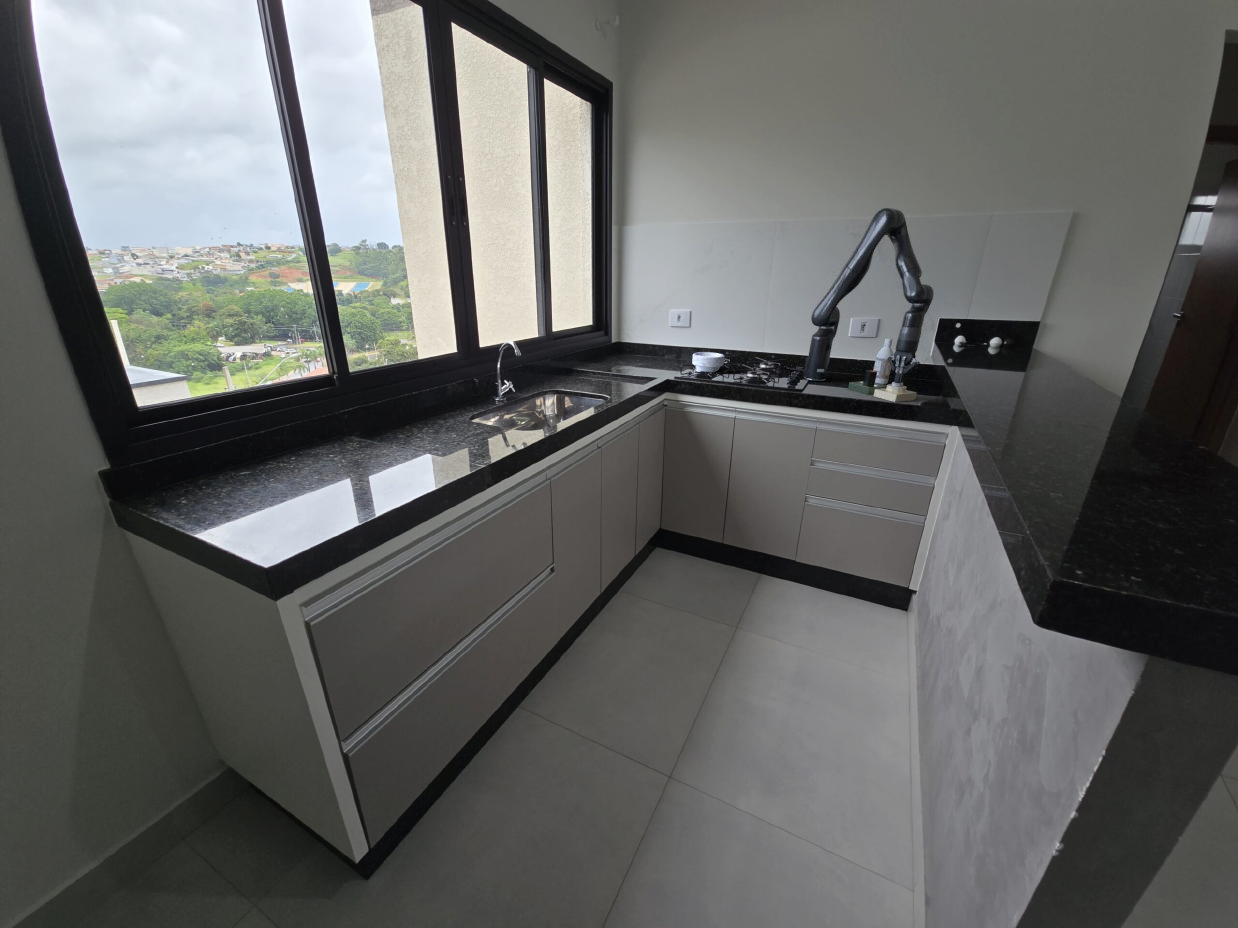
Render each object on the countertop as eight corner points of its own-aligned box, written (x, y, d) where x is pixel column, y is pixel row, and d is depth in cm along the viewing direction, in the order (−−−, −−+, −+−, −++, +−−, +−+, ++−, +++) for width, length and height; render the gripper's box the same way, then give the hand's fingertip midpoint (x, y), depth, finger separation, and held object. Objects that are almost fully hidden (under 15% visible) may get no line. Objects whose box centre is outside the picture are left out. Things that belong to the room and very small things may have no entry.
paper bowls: (725, 373, 239) (727, 356, 236) (693, 373, 239) (694, 356, 237) (720, 368, 253) (721, 352, 251) (690, 367, 254) (691, 351, 251)
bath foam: (882, 385, 230) (892, 340, 223) (867, 382, 235) (877, 338, 228) (890, 383, 233) (900, 339, 226) (876, 380, 239) (886, 337, 232)
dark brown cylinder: (860, 383, 216) (863, 369, 214) (868, 382, 218) (871, 369, 216) (869, 385, 213) (872, 371, 211) (876, 384, 214) (879, 371, 212)
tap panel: (847, 389, 218) (849, 382, 217) (867, 387, 223) (868, 380, 222) (867, 394, 210) (868, 387, 209) (887, 392, 215) (888, 385, 214)
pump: (888, 386, 205) (890, 381, 204) (895, 386, 207) (896, 381, 206) (897, 389, 202) (898, 384, 201) (904, 388, 203) (905, 383, 202)
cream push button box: (873, 396, 207) (876, 384, 206) (893, 394, 212) (896, 382, 210) (895, 402, 199) (898, 389, 197) (915, 399, 204) (918, 387, 202)
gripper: (931, 340, 193) (919, 385, 199) (900, 336, 204) (890, 378, 210) (918, 341, 190) (906, 386, 196) (887, 336, 201) (877, 379, 207)
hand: (898, 382), depth 203 cm, fingers closed
